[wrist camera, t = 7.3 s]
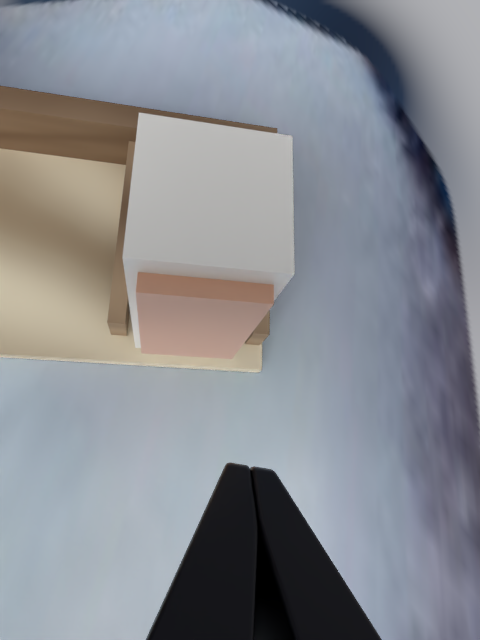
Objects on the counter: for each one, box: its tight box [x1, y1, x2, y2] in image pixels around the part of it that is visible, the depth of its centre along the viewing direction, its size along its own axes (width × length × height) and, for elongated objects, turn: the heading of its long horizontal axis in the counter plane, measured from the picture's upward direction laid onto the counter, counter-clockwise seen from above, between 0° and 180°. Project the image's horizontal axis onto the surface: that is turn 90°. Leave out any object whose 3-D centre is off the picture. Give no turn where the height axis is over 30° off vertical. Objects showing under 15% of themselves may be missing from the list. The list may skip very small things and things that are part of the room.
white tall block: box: [122, 113, 295, 359], centre depth 14 cm, size 4×4×8 cm
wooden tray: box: [0, 86, 277, 373], centre depth 17 cm, size 10×19×3 cm, turn 89°
